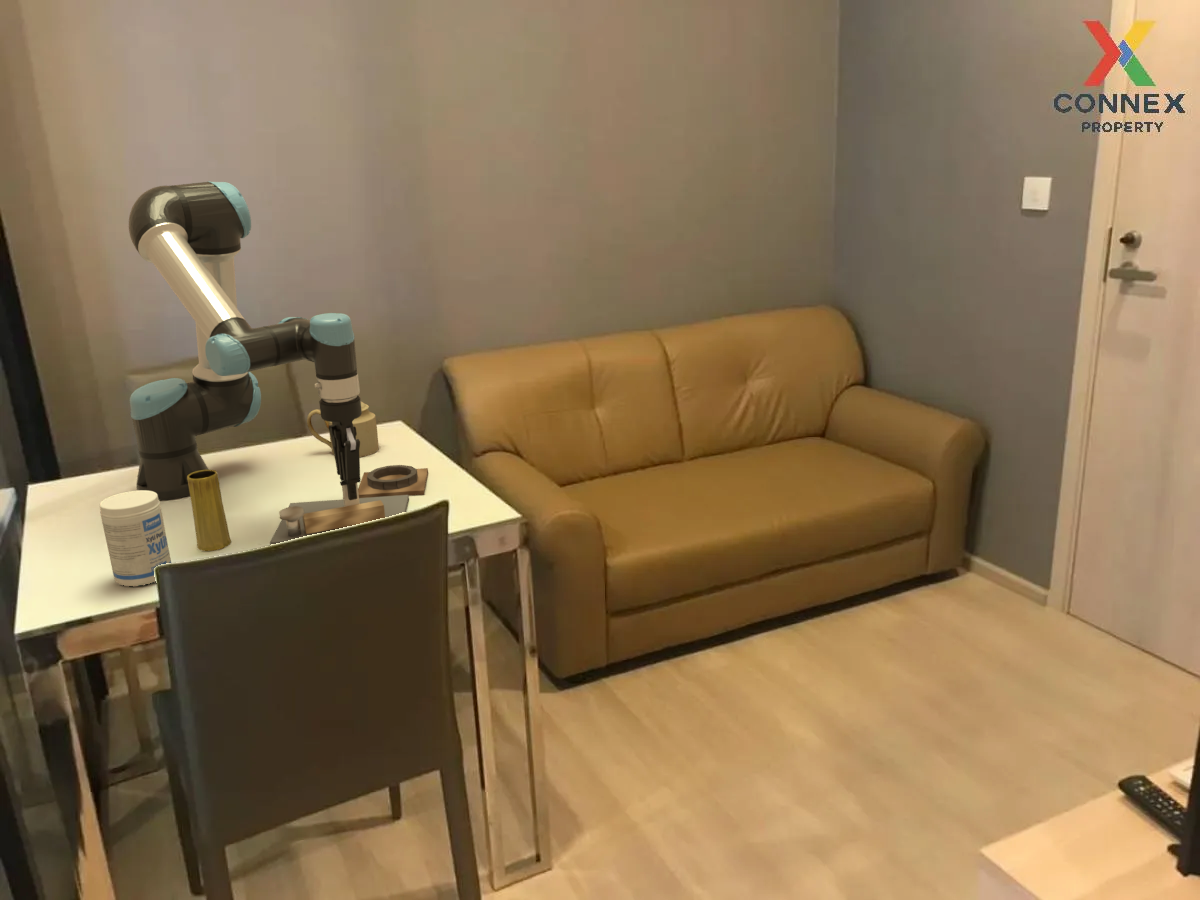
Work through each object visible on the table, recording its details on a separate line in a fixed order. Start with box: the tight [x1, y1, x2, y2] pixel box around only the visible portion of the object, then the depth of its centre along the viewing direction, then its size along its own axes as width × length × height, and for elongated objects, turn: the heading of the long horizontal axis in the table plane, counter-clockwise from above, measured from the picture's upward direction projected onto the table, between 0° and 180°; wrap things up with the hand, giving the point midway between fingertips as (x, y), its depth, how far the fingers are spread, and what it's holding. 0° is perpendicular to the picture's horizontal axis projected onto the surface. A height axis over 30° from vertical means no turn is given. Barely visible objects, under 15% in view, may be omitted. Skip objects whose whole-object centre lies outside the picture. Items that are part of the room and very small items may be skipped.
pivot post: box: [286, 518, 301, 537], centre depth 190 cm, size 2×2×4 cm
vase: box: [187, 469, 232, 552], centre depth 187 cm, size 6×6×14 cm
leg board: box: [269, 495, 410, 545], centre depth 198 cm, size 24×20×1 cm
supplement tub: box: [99, 490, 172, 587], centre depth 175 cm, size 10×10×15 cm
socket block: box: [358, 464, 429, 498], centre depth 216 cm, size 14×14×3 cm
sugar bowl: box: [306, 401, 380, 458], centre depth 237 cm, size 15×11×15 cm
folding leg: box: [278, 500, 385, 534], centre depth 192 cm, size 19×4×5 cm, turn 113°
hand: (352, 512), depth 196 cm, fingers closed
